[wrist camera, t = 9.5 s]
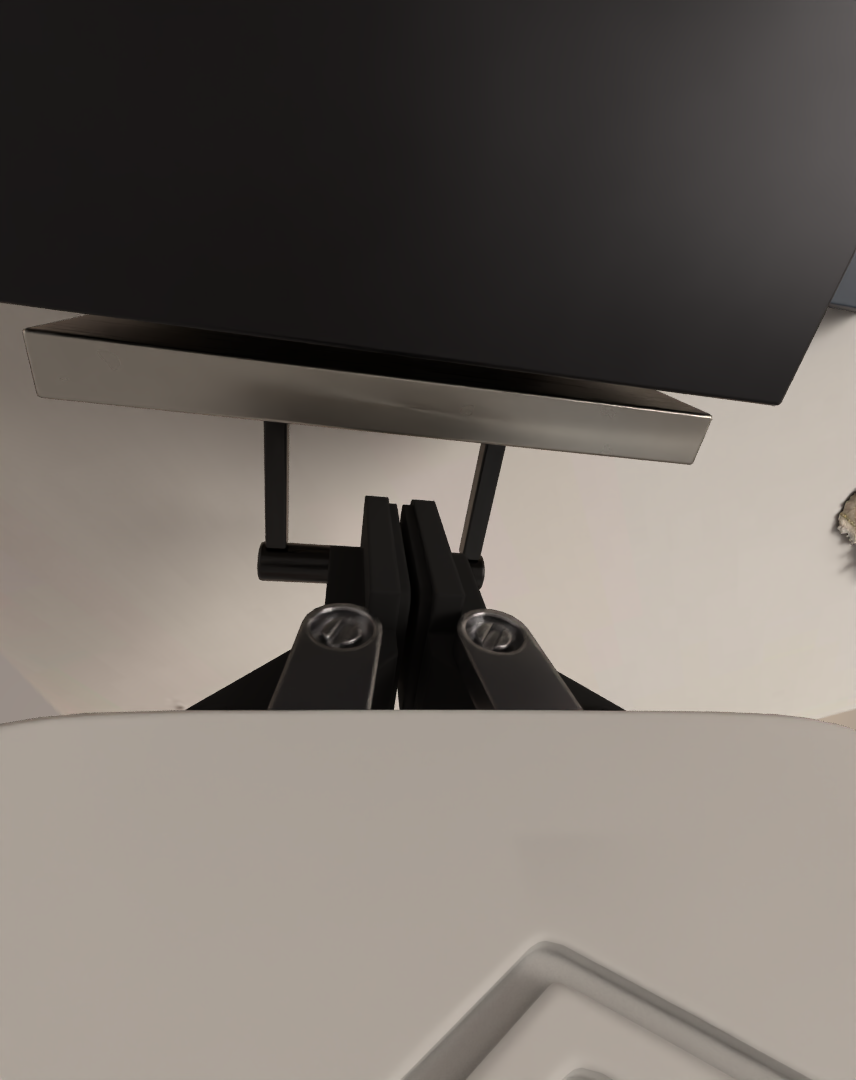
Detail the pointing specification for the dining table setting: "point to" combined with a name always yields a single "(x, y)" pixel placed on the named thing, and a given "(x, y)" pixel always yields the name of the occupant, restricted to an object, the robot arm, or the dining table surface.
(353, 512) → the dining table surface
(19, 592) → the dining table surface
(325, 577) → the grey drawer
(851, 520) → the mineral rock specimen
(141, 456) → the dining table surface
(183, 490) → the dining table surface
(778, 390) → the black drawer cabinet
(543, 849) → the robot arm
